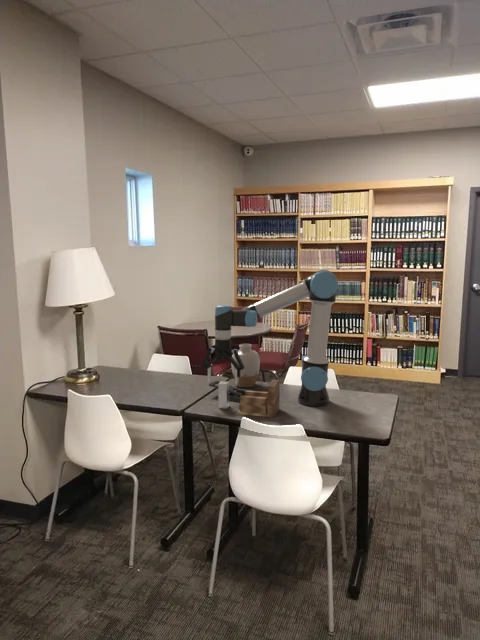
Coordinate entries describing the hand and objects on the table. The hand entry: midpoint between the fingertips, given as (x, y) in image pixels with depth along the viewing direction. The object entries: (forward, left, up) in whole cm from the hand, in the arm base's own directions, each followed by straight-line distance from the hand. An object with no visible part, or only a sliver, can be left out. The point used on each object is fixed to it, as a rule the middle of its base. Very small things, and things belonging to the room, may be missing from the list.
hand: (223, 382), depth 224 cm
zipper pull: (0, -15, -12) cm, 19 cm away
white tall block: (0, 0, -12) cm, 12 cm away
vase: (0, -39, -12) cm, 41 cm away
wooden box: (-18, +2, -12) cm, 22 cm away
